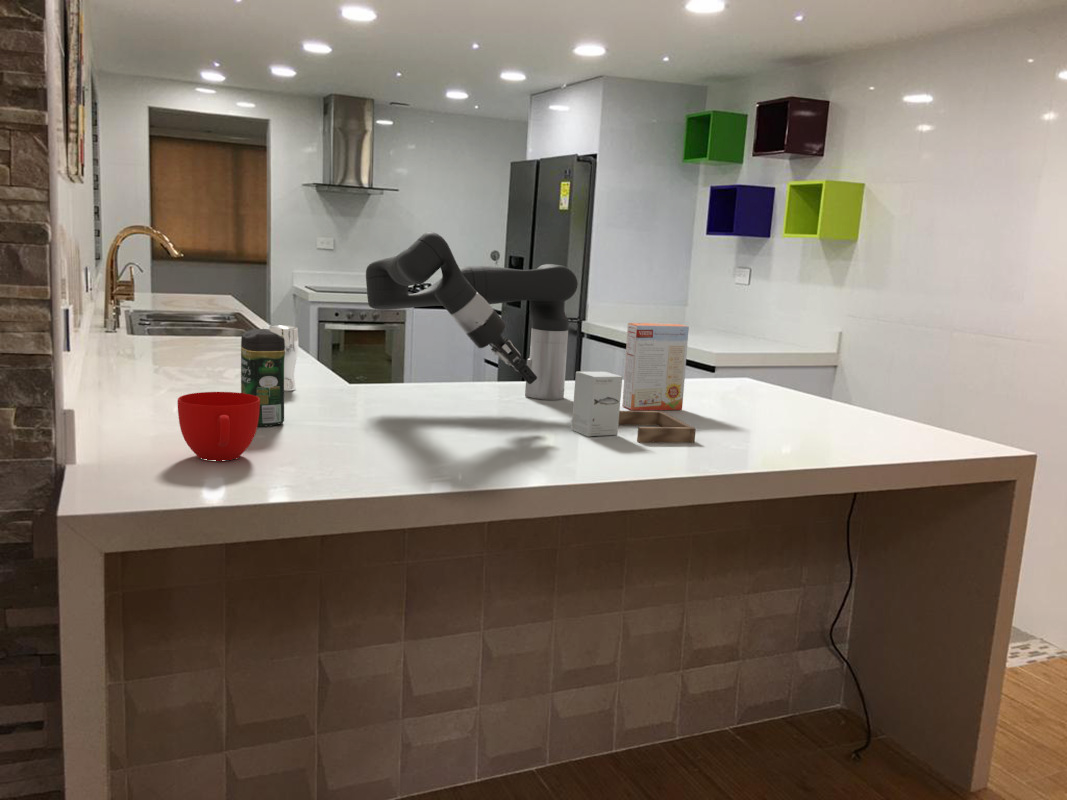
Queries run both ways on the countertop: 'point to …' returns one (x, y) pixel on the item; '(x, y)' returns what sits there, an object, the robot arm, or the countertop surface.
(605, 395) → the supplement box
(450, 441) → the countertop surface
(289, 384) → the beer glass
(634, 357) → the cracker box
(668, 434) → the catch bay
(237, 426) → the ceramic cup
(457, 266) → the robot arm
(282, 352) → the coffee jar
